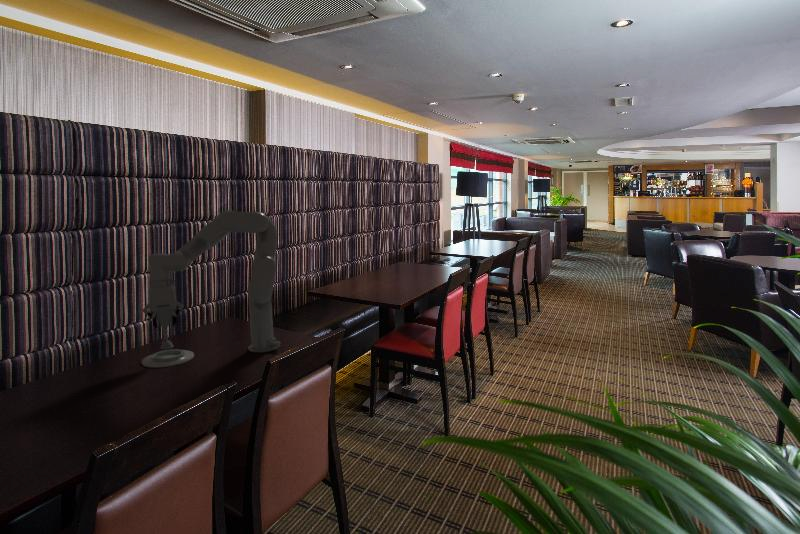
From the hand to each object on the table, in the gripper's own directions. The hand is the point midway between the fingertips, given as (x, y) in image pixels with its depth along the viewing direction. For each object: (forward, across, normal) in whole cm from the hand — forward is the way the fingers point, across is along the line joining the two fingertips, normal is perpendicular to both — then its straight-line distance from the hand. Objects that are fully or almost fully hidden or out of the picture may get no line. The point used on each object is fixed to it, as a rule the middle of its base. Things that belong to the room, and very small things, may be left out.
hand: (165, 326), depth 209 cm
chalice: (+9, 0, 0) cm, 9 cm away
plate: (+14, 0, 0) cm, 14 cm away
